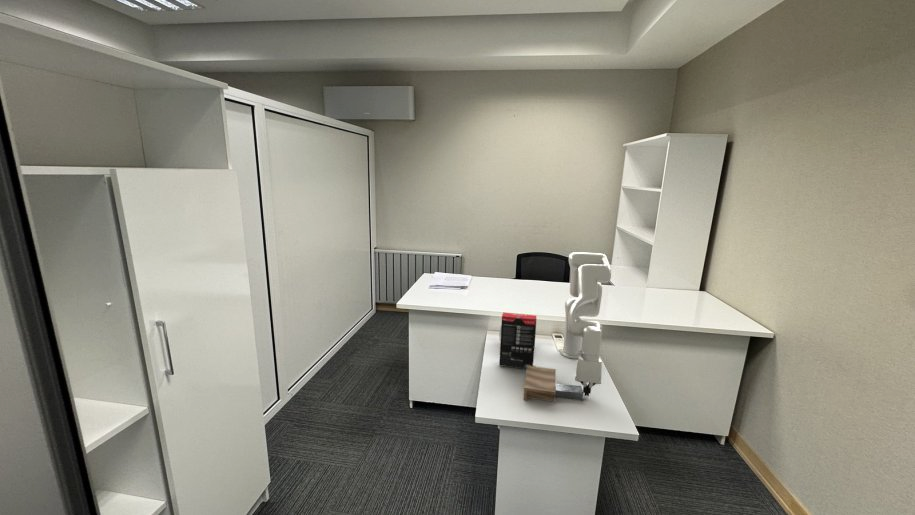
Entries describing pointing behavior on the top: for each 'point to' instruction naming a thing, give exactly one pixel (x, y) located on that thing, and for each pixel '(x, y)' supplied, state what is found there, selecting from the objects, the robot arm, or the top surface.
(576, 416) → the top surface
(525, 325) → the graphics card box
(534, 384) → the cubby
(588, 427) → the top surface
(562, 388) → the slab
